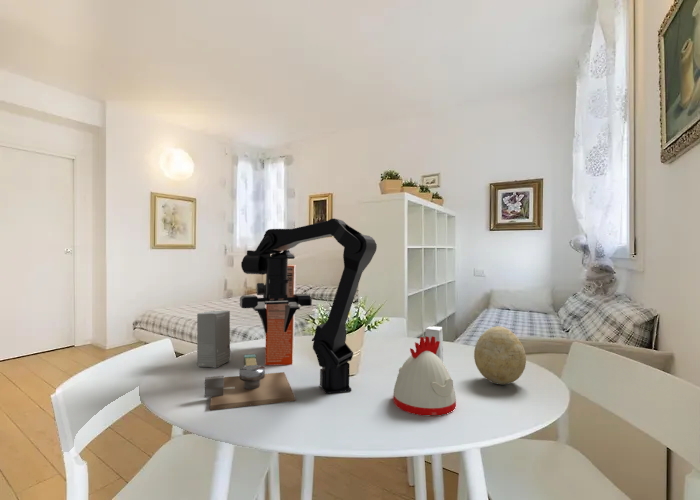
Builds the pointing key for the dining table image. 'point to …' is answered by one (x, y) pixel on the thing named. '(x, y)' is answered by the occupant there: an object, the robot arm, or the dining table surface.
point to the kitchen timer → (424, 382)
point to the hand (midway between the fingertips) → (275, 332)
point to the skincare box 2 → (436, 338)
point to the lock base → (247, 391)
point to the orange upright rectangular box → (280, 328)
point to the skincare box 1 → (213, 338)
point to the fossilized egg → (500, 355)
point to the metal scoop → (251, 369)
